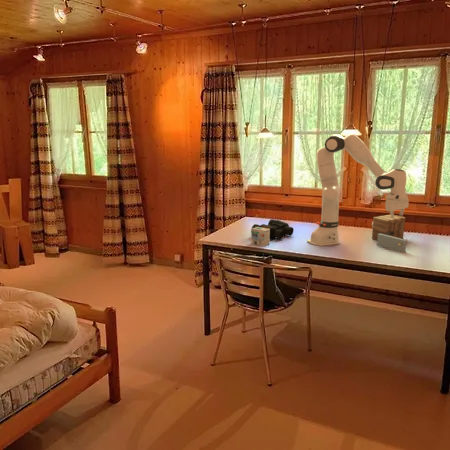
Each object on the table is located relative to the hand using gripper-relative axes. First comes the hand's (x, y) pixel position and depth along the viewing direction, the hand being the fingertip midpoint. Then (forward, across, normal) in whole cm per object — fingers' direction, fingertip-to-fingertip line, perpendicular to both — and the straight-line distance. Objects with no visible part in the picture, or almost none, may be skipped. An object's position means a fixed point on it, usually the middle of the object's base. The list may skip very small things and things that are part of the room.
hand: (396, 216), depth 281 cm
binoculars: (+19, +41, -70) cm, 83 cm away
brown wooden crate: (+21, -17, -16) cm, 31 cm away
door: (+21, +3, -1) cm, 21 cm away
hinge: (+21, -32, -34) cm, 51 cm away
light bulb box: (+19, +62, -60) cm, 89 cm away
